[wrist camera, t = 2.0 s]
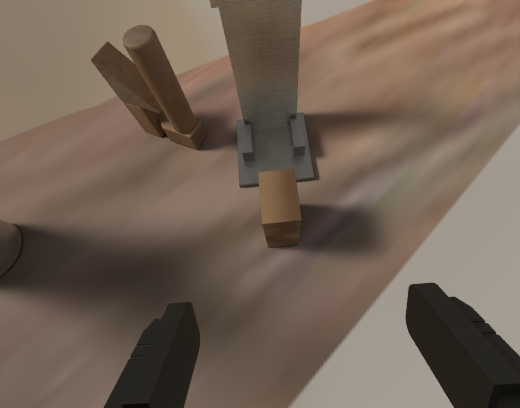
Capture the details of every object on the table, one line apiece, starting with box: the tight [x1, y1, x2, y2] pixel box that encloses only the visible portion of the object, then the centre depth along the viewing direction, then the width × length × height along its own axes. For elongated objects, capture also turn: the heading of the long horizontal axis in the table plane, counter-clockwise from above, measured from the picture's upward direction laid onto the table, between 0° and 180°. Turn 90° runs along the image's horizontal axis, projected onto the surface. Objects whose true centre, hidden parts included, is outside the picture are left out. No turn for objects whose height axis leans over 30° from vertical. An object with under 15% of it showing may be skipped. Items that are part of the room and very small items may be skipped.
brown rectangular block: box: [258, 168, 302, 247], centre depth 33 cm, size 4×6×10 cm, turn 4°
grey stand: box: [210, 0, 314, 187], centre depth 33 cm, size 11×13×21 cm
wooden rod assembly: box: [91, 25, 207, 150], centre depth 37 cm, size 4×11×18 cm, turn 66°
